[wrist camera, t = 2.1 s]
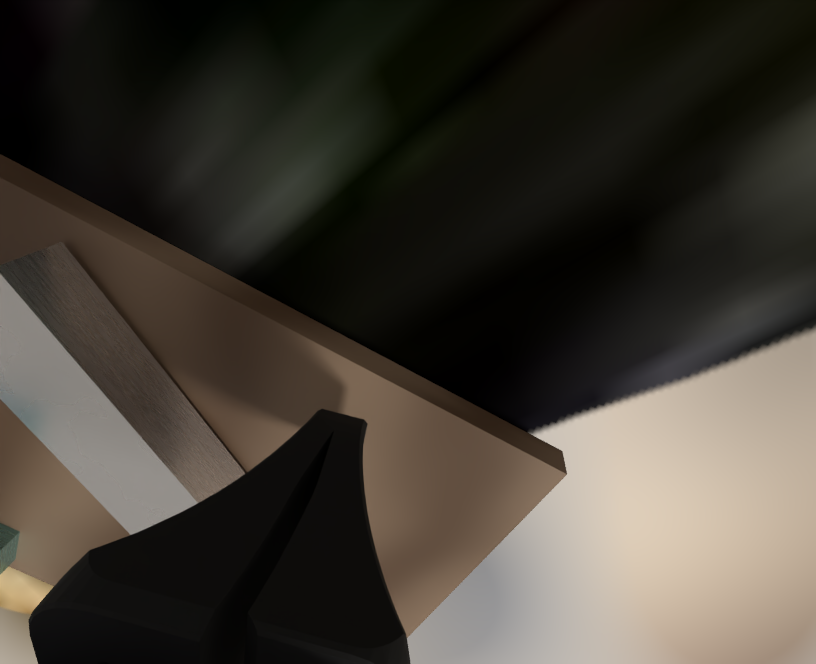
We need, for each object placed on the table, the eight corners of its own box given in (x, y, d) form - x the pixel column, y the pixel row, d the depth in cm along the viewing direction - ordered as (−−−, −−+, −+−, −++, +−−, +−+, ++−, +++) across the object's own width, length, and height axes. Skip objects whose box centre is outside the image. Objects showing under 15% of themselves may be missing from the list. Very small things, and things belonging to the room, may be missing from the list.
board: (-100, 488, 21) (-126, 506, 20) (-111, 95, 13) (-155, 96, 12) (341, 686, 23) (335, 710, 22) (562, 451, 15) (566, 473, 14)
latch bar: (372, 617, 18) (353, 708, 16) (286, 633, 20) (254, 720, 17) (74, 233, 13) (-34, 274, 10) (-18, 292, 14) (-136, 341, 11)
